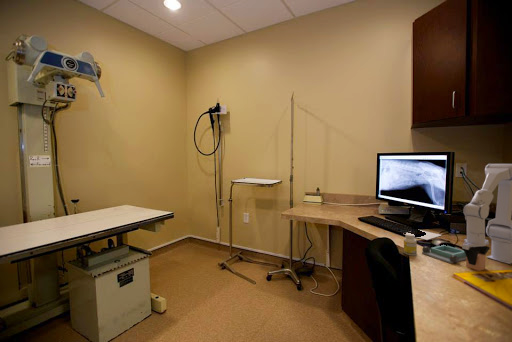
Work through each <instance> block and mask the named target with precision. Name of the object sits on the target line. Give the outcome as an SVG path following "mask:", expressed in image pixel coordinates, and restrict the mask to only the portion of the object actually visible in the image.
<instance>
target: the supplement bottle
mask: <svg viewBox="0 0 512 342" xmlns="http://www.w3.org/2000/svg"><path fill="white" fill-rule="evenodd" d="M405 233H406V234H404V235H405V236H404V238H403V253H404V254H406V255H408V256H417V254H418V253H417V252H418V249H417V239H416V237H415V235H414V234H411V233H408V232H405Z"/></svg>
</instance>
